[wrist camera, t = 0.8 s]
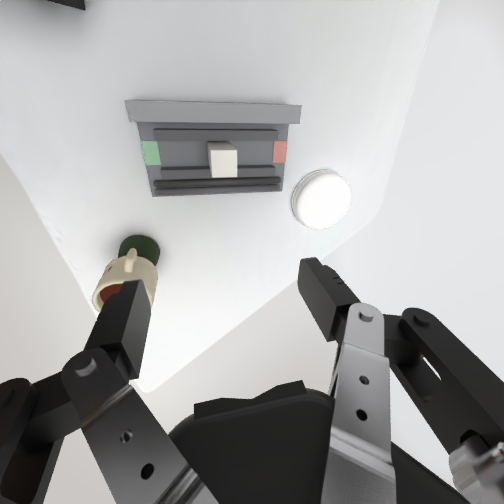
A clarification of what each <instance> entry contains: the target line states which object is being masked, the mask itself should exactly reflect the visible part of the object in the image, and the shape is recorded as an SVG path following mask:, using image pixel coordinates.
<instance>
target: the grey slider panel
mask: <svg viewBox="0 0 504 504" xmlns="http://www.w3.org/2000/svg"><path fill="white" fill-rule="evenodd" d="M125 103H126V108H127V112H128V117H129V121H130V122H137V124H138V129H139V134H140V138H141V145H142V150H143V155H144V159H145V164H146V168H147V173H148V177H149V182H150V187H151V192H152V197H158V196H182V195H205V194H229V193H252V192H276V191H282V187H283V176H284V166H285V160H286V150H287V135H288V125H289V124H299V123H300V115H301V106H302V105H287V104H256V103H222V102H189V101H156V100H125ZM207 141H229V142H230V143H231V144H232V145H233V146H234V147H235V148H236V150H237V177H217V178H212V175H211V171H210V167H209V159H208V144H207Z"/></svg>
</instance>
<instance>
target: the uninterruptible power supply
mask: <svg viewBox="0 0 504 504" xmlns="http://www.w3.org/2000/svg"><path fill="white" fill-rule="evenodd" d="M48 1H52V2H56V3H59V4H63V5H67V6H71V7H74V8H78V9H82V10H85V4H84V0H48Z"/></svg>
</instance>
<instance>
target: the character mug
mask: <svg viewBox="0 0 504 504" xmlns="http://www.w3.org/2000/svg"><path fill="white" fill-rule="evenodd" d="M159 255H160V249H159V247H158V245H157V244H156V243H155V242H153V241H152V240H151V239H148V238H146V237H143V236H131V237H129V238H127V239H125V240H124V241H123V243H122V244H121V246H120V249H119V254H118V258H117V259H114V260H112V261H111V262H110V263H109V264H108V265H107V266H106V269H105V271H104V274H103V276H102V278H101V279H100V280H99V283H98V285H97V287H96V289H95V291H94V293H93V296H92V304H93V305H94V307H95V309H96V310H97V311H98V312H100V311H101V309H102V306H103V304H104V302H105V301H106V300H107V299H108V298H109V297H110V296H111V295H112V294H113V293H119V292H120V289H121V286H122V284H123V282H124V281H130V280H137V279H142V280H143V283H144V286H145V289H146V292H147V295H148V298H149V301H150V305H151V307H152V305H153V301H154V296H155V291H156V286H157V280H158V274H157V269H156V267H155V266H156V264H157V262H158V259H159Z"/></svg>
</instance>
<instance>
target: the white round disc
mask: <svg viewBox="0 0 504 504" xmlns="http://www.w3.org/2000/svg"><path fill="white" fill-rule="evenodd" d="M351 198H352V192H351V187H350V185H349V183H348V182H347V180H346V179H345V178H344V177H342V176H340V175H339V174H337V173H335V172H333V171H330V170H318V171H315V172H312V173H310V174H309V175H307V176H306V177H304V178H303V179H302V180H301V181H300V182H299V184H298V185H297V187H296V188H295V190H294V193H293V196H292V209H293V212H294V214H295V216H296V217H297V218H298V219H299V220H300V221H301V223H302V224H303V225H305V226H306V227H308V228H311V229H325V228H328V227H330V226H332V225H334V224H335V223H337V222H338V221H339V220H340V219H341V218H342V217H343V216H344V215H345V213H346V212H347V210H348V208H349V206H350V203H351Z"/></svg>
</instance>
